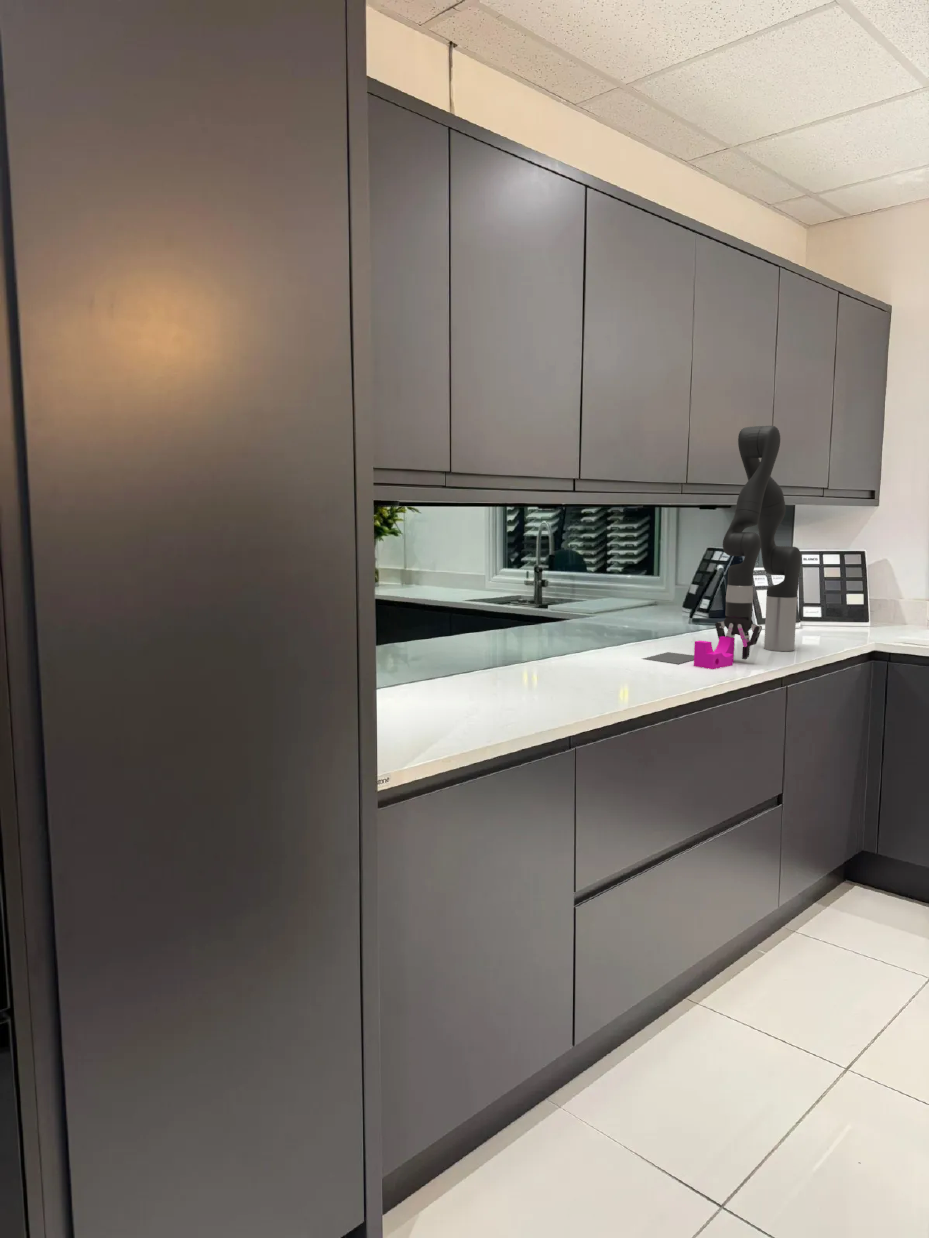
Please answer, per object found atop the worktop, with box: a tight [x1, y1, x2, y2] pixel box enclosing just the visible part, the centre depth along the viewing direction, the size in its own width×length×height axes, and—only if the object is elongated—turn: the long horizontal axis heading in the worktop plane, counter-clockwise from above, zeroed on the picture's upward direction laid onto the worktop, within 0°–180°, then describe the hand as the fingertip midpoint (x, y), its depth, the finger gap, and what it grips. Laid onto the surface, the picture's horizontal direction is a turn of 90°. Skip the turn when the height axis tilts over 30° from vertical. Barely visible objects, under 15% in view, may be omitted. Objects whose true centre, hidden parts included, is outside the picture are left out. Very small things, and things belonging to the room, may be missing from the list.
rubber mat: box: [642, 651, 694, 665], centre depth 260 cm, size 16×12×1 cm
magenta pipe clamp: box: [693, 635, 736, 670], centre depth 251 cm, size 15×6×8 cm, turn 132°
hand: (736, 657), depth 256 cm, fingers open, 4 cm apart
